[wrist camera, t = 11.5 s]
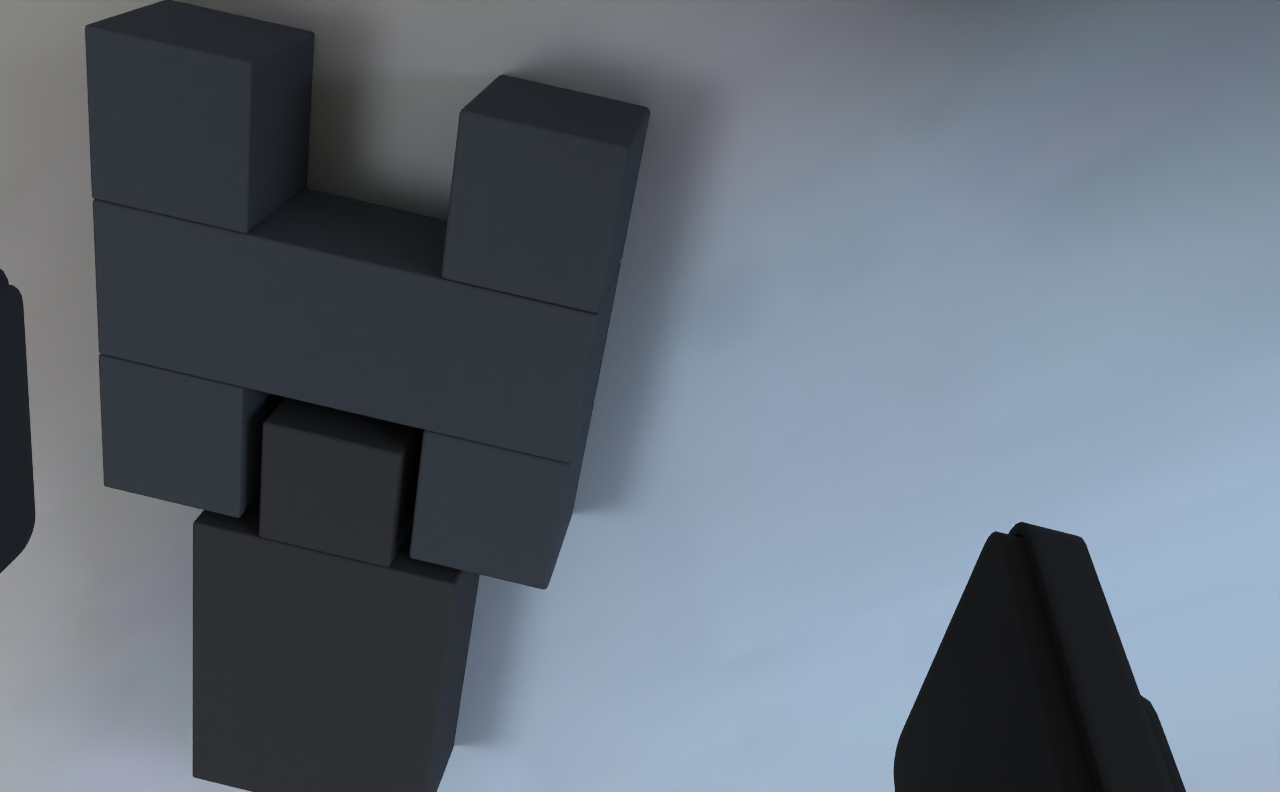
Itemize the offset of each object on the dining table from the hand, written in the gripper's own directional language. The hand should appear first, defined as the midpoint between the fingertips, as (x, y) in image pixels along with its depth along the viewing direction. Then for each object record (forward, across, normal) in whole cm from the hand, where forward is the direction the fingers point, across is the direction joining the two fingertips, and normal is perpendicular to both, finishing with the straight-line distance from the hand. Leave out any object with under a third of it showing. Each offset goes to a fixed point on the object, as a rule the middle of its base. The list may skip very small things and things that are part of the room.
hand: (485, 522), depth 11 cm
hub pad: (+14, +5, +5) cm, 16 cm away
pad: (+14, +5, +13) cm, 19 cm away
